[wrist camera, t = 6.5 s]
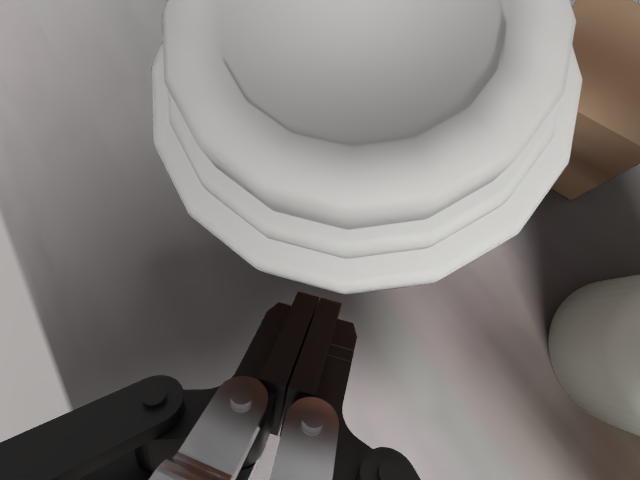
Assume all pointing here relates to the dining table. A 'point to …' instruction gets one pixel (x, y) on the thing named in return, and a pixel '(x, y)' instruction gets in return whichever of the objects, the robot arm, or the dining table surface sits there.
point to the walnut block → (604, 95)
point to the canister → (600, 350)
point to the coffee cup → (364, 129)
